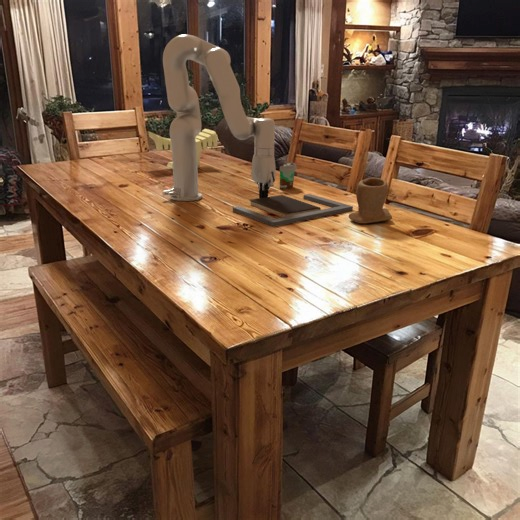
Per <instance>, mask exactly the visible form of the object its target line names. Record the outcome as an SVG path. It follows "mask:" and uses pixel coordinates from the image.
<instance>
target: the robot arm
mask: <svg viewBox="0 0 520 520" xmlns="http://www.w3.org/2000/svg"><path fill="white" fill-rule="evenodd" d="M188 60H189V61H193V62H195V63H197V64H199V65H202V66H204V67H205V69H206V72H207V73H208V76H209V78H210V81H211V83H212V86H213V88H214V91H215V92H216V94H217V97H218V101H219V104H220V107H221V110H222V113H223V116H224V118H225V121H226V124H227V126H228V128H229V130H230V132H231V134H232V136H233V137H234V138H236V139H237V140H240V141H245V140H247V139H249V138H250V137H254V142H253V143H254V144H253V145H254V147H253V148H254V150H253V151H254V154H253V156H252V159H251V160H252V161H251V170H250V171H251V172H250V175H251V176H250V177H251V180H252V181H253V182H254V183H255V184H256V185H257V189H258V190H259V191H258V198H264V197H269V190H270V187H275V186H274V183H275V182H276V173H277V171H276V160H275V159H276V157H275V137H276V136H275V133H276V132H275V129H276V127H275V126H276V125H275V120H274V119H273V118H269V117H260V118H257V117H251V116H247V115H246V112H245V110H244V107H243V105H242V100H241V87H240V85H239V82H238V80H237V78H236V76H235V74H234V71H233V69H232V66H231V62H232V61H231V55H230V54H229V52H228V51H227V50H225V49H224V48H222V47H219V46H217V45H215V44H212V43H211V42H208V41H207V40H205V39H202V38H200V37H199V36H196V35H192V34H188V33H187V34H186V33H185V34H179V35H177V36H175V37H173V38H172V39H170V41H168V43H167V44H166V46H165V48H164V51H163V54H162V66H163V73H164V81H165V82H164V83H165V88H166V96H167V97H166V98H167V103H168V105H169V107H170V109H171V110H173V112H175V113H176V117H175V118H174V119H173V120H172V121H171V123H170V126H169V137H170V138H169V139H171V146H172V150H171V158H172V160H171V161H172V162H173V169H172V178H173V180H172V181H173V186H170V188H169V189H165V190H162V191H161V192H162V196H169V198H170V199H171V200H173V201H179V202H193V201H198V200H201V199H202V198H203V194H202V192H199V181H198V180H199V179H198V178H199V176H198V173H199V172H198V168H197V147H196V140H195V137H196V136H197V135H198V134H199V133H200V132H202V116H201V115H202V114H201V109H200V100H199V96H198V94H197V92H196V90H195V88H193V86H191V85H190V82H189V74H188V69H187V66H186V65H187V64H186V63H187V61H188Z"/></svg>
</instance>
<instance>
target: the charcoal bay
mask: <svg viewBox="0 0 520 520" xmlns="http://www.w3.org/2000/svg"><path fill="white" fill-rule="evenodd" d="M303 200H306V201H311V202H312V203H313V202H314V203H317V204H320V205H323V206H327V207H328V208H324V209H321V210H318V211H313V212H308V213H303V214H298V215H293V216H288V217H279V218H273V217H271V216H268V215H266V214H263V213H260V212H257V211H254V210H252V209H249V208H246V207H243V206H240V205H238V206H233V207H232V212H233V213H236V214H240V215H242V216H245V217H247V218H250V219H252V220H255V221H258V222H260V223H263V224H266V225H268V226H271V227H278V226H284V225H288V224H293V223H294V224H295V223H298V222H303V221H308V220H313V219H317V218H322V217H326V216H332V215H337V214H342V213H348V212H350V211H351V210H352V211H353V210H354V209H353V208H354V206H353V205H349V204H346V203H344V202H343V203H342V202H339V201H335V200H332V199H328V198H326V197H322V196H317V195H314V194H311V193H307V194H303Z"/></svg>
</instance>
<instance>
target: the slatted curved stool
mask: <svg viewBox="0 0 520 520" xmlns="http://www.w3.org/2000/svg"><path fill="white" fill-rule="evenodd" d="M148 138H150V139H151V140H153V143H154V144H155V149H156V151H158V152H160V151H164V150H165V151H166V150H170V151H172V146H171V139H170V138H169V137H168V138H167V137H163V136H161V135H158V134H156V133H155V132H151V131H148ZM195 140H196V147H197V169H201V165H200V161H201V155H202V151H203V150H205V149H206V148H212V147H214V148H218V135H217V132H216V131H215V130H212V129H209V128H204V129H201V131H200V133H199V134H198V135H197V136H196V137H195ZM166 167H168V168H169V169H172V170H173V161H168V163H167V165H166Z"/></svg>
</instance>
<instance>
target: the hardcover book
mask: <svg viewBox="0 0 520 520" xmlns="http://www.w3.org/2000/svg"><path fill="white" fill-rule="evenodd" d="M248 201H250V206H252V207H255V208H257V209H260V210H262V211H265V212H268V213H271V214H273V215H276V216H278V217H280V218H283V217H288V216H293V215H298V214H303V213H308V212H313V211H318V210H322V209H321V207H320V206H317V205H314V204H312V203H308V202H305V201H302V200H299V199H295V198H294V197H293V198H292V197H290V196H286V195H284V194H279V195H273V196H268V197H264V198H259V197H258V198H252V199H249V200H248Z"/></svg>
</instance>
